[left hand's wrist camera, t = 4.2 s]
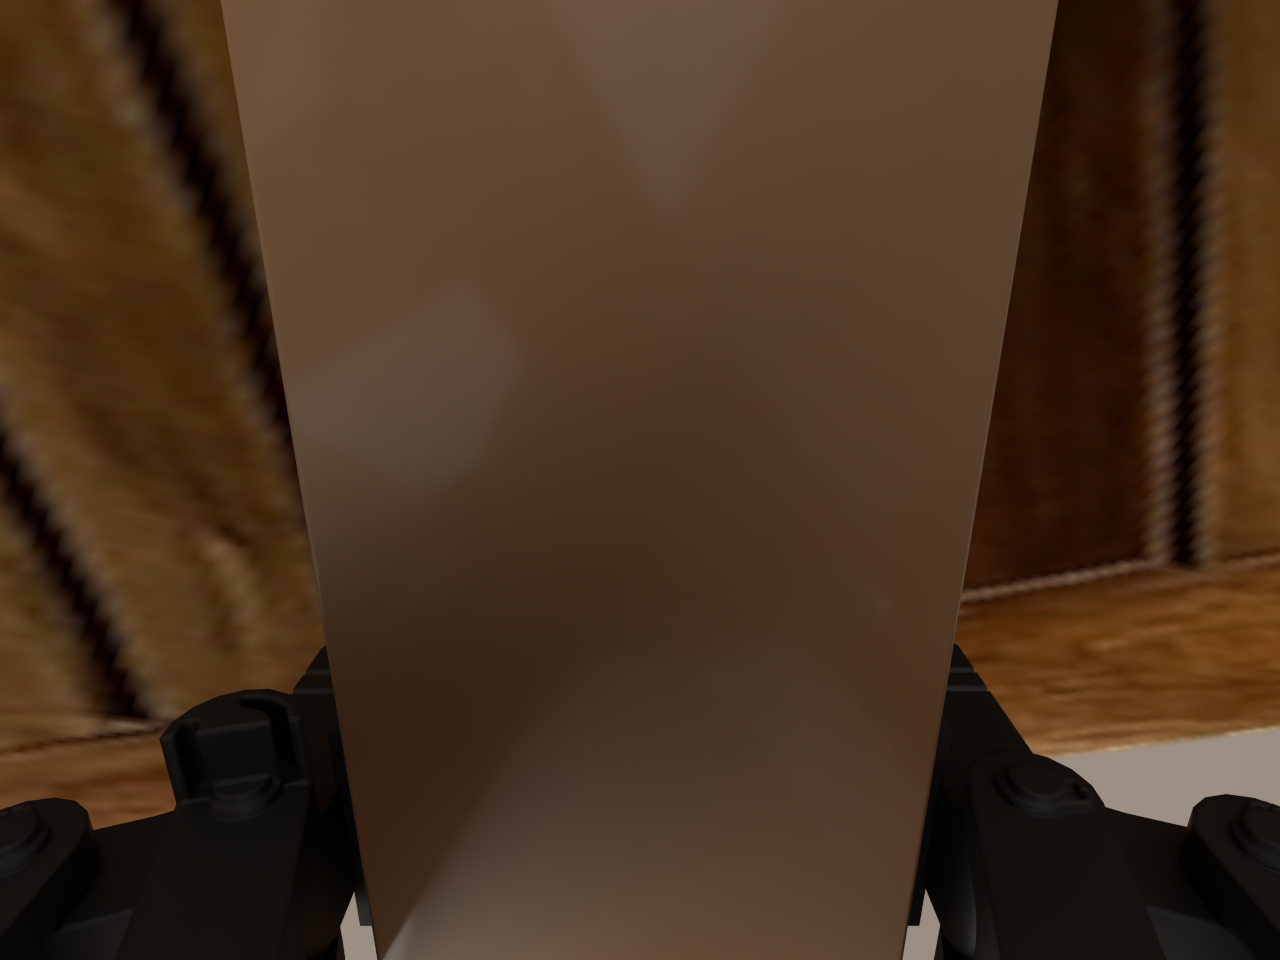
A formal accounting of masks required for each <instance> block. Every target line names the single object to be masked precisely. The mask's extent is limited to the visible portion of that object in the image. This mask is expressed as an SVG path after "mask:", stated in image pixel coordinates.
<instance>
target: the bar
mask: <svg viewBox="0 0 1280 960" xmlns="http://www.w3.org/2000/svg"><path fill="white" fill-rule="evenodd" d="M221 6H222V12H223V18H224V24H225V30H226V36H227V42H228V48H229V55H230V61H231V67H232V73H233V79H234V85H235V91H236V97H237V103H238V110H239V116H240V122H241V128H242V134H243V140H244V146H245V152H246V159H247V165H248V171H249V177H250V183H251V189H252V195H253V201H254V207H255V214H256V220H257V226H258V232H259V238H260V244H261V250H262V256H263V262H264V269H265V275H266V281H267V287H268V293H269V299H270V305H271V311H272V318H273V324H274V330H275V336H276V342H277V348H278V354H279V360H280V366H281V373H282V379H283V385H284V391H285V397H286V403H287V409H288V415H289V422H290V428H291V434H292V440H293V446H294V452H295V458H296V464H297V470H298V477H299V483H300V489H301V495H302V501H303V507H304V513H305V519H306V525H307V532H308V538H309V544H310V550H311V556H312V562H313V568H314V574H315V581H316V587H317V593H318V599H319V605H320V611H321V617H322V623H323V629H324V636H325V642H326V648H327V654H328V660H329V666H330V672H331V678H332V684H333V691H334V697H335V703H336V709H337V715H338V721H339V727H340V733H341V740H342V746H343V752H344V758H345V764H346V770H347V776H348V782H349V788H350V795H351V801H352V807H353V813H354V819H355V825H356V831H357V837H358V843H359V850H360V856H361V862H362V868H363V874H364V880H365V886H366V892H367V899H368V905H369V911H370V917H371V923H372V929H373V935H374V941H375V947H376V954H377V960H902V958H903V952H904V946H905V940H906V933H907V927H908V921H909V915H910V909H911V903H912V897H913V891H914V884H915V878H916V872H917V866H918V860H919V854H920V848H921V841H922V835H923V829H924V823H925V817H926V811H927V805H928V798H929V792H930V786H931V780H932V774H933V768H934V762H935V755H936V749H937V743H938V737H939V731H940V725H941V719H942V712H943V706H944V700H945V694H946V688H947V682H948V676H949V669H950V663H951V657H952V651H953V645H954V639H955V633H956V626H957V620H958V614H959V608H960V602H961V596H962V590H963V583H964V577H965V571H966V565H967V559H968V553H969V547H970V540H971V534H972V528H973V522H974V516H975V510H976V504H977V497H978V491H979V485H980V479H981V473H982V467H983V461H984V454H985V448H986V442H987V436H988V430H989V424H990V418H991V411H992V405H993V399H994V393H995V387H996V381H997V375H998V368H999V362H1000V356H1001V350H1002V344H1003V338H1004V332H1005V325H1006V319H1007V313H1008V307H1009V301H1010V295H1011V289H1012V282H1013V276H1014V270H1015V264H1016V258H1017V252H1018V246H1019V239H1020V233H1021V227H1022V221H1023V215H1024V209H1025V203H1026V196H1027V190H1028V184H1029V178H1030V172H1031V166H1032V160H1033V153H1034V147H1035V141H1036V135H1037V129H1038V123H1039V117H1040V110H1041V104H1042V98H1043V92H1044V86H1045V80H1046V74H1047V67H1048V61H1049V55H1050V49H1051V43H1052V37H1053V31H1054V24H1055V18H1056V12H1057V6H1058V0H221Z"/></svg>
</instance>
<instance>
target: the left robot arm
mask: <svg viewBox="0 0 1280 960" xmlns="http://www.w3.org/2000/svg"><path fill="white" fill-rule="evenodd" d="M159 739H160V743H161V747H162V750H163V754H164V758H165V762H166V766H167V769H168V773H169V777H170V781H171V785H172V788H173V792H174V796H175V800H176V807H175V809H174V811H171V812H167V813H164V814H161V815H157V816H154V817H150V818H145V819H141V820H136V821H132V822H127V823H123V824H119V825H114V826H110V827H105V828H101V829H97V830H93V828H92V825H91V821H90V818H89V815H88V812H87V810H85V809H84V808H83V807H82V806H81V805H80V804H78V803H77V802H76V801H73V800H66V799H60V798H48V799H40V800H33V801H26V802H23V803H20V804H17V805H14V806H11V807H7V808H5V809H2V810H0V960H345V954H344V947H343V940H342V935H341V929H340V925H341V923H342V920H343V918H344V915H345V913H346V910H347V908H348V905H349V903H350V901H351V898H352V896H353V893H354V892H355V898H356V904H357V910H358V916H359V921H360V926H372V923H371V917H370V911H369V905H368V899H367V892H366V886H365V880H364V874H363V868H362V862H361V856H360V850H359V843H358V837H357V831H356V825H355V819H354V813H353V807H352V801H351V795H350V788H349V782H348V776H347V770H346V764H345V758H344V752H343V746H342V740H341V733H340V727H339V721H338V715H337V709H336V703H335V697H334V691H333V684H332V678H331V672H330V666H329V660H328V654H327V648H326V646H324V647H323V648H322V649H321V650H320V651H319V653H318V654H317V656H316V657H315V659H314V660H313V662H312V663H311V665H310V666H309V667H308V669H307V670H306V675H303V676H302V678H301V679H300V680H299V682H298V683H297V685H296V686H295V688H294V689H293V694H290V695H289V694H287V693H283V692H279V691H275V690H271V689H258V690H243V691H238V692H234V693H230V694H226V695H222V696H218V697H216V698H213V699H211V700H209V701H206V702H204V703H202V704H200V705H197V706H195V707H193V708H192V709H190V710H189V711H187V712H186V713H184V714H183V715H182V716H180V717H179V718H177V719H176V720H174V721H173V722H172V723H171V724H170V726H169V727H168V728H167V729H166V731H165V732H164V733H163V735H162V736H161V737H160V738H159ZM925 889H926V891H927V893H928V896H929V898H930V901H931V903H932V905H933V908H934V910H935V913H936V915H937V918H938V920H939V923H940V929H939V935H938V940H937V946H936V951H935V956H934V960H1280V806H1277V805H1275V804H1271V803H1268V802H1265V801H1262V800H1259V799H1256V798H1251V797H1243V796H1236V795H1229V794H1224V795H1218V796H1211V797H1205V798H1204V799H1203V800H1201V801H1200V802H1199V803H1198V804H1197V805H1195V806H1194V807H1193V810H1192V813H1191V816H1190V819H1189V822H1188V826H1187V827H1185V826H1180V825H1176V824H1172V823H1167V822H1163V821H1158V820H1153V819H1149V818H1145V817H1140V816H1136V815H1132V814H1127V813H1124V812H1120V811H1117V810H1113V809H1110V808H1107V807H1105V805H1104V803H1103V801H1102V800H1101V799H1100V797H1099V796H1098V794H1097V793H1096V791H1095V790H1094V788H1093V787H1092V785H1091V784H1089V783H1088V782H1087V781H1086V780H1084V779H1083V778H1082V777H1081V776H1079V775H1078V774H1077V773H1076V772H1074V771H1073V770H1072V769H1070V768H1068V767H1066V766H1064V765H1062V764H1060V763H1058V762H1056V761H1054V760H1052V759H1050V758H1048V757H1044V756H1041V755H1037V754H1033V753H1032V751H1031V750H1030V748H1029V747H1028V746H1027V744H1026V743H1025V741H1024V740H1023V738H1022V737H1021V736H1020V734H1019V733H1018V731H1017V730H1016V728H1015V727H1014V725H1013V724H1012V723H1011V721H1010V720H1009V718H1008V717H1007V715H1006V714H1005V713H1004V711H1003V710H1002V708H1001V707H1000V705H999V704H998V702H997V701H996V700H995V698H994V697H993V695H992V694H991V692H987V687H986V685H985V684H984V682H983V681H982V679H981V678H980V677H979V675H978V674H977V673H974V668H973V666H972V665H971V664H970V662H969V661H968V659H967V658H966V656H965V655H964V654H963V652H962V651H961V649H960V648H959V646H958V645H956V644H955V643H954V645H953V651H952V657H951V663H950V669H949V676H948V682H947V688H946V694H945V700H944V706H943V712H942V719H941V725H940V731H939V737H938V743H937V749H936V755H935V762H934V768H933V774H932V780H931V786H930V792H929V798H928V805H927V811H926V817H925V823H924V829H923V835H922V841H921V848H920V854H919V860H918V866H917V872H916V878H915V884H914V891H913V897H912V903H911V909H910V915H909V921H908V926H919V924H920V918H921V912H922V906H923V901H924V895H925Z"/></svg>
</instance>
